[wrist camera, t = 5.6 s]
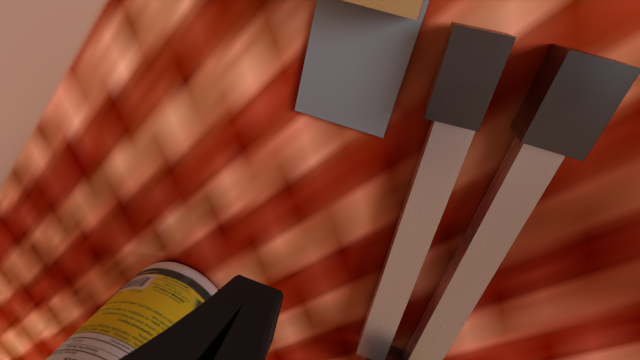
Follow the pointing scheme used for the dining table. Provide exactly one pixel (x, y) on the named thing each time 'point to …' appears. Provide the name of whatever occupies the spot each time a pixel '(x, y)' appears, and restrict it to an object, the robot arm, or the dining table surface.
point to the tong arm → (435, 170)
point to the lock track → (355, 64)
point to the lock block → (394, 6)
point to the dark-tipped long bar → (522, 183)
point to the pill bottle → (138, 313)
